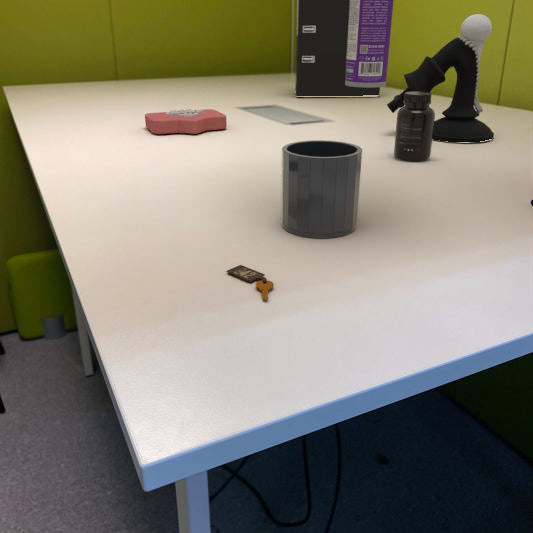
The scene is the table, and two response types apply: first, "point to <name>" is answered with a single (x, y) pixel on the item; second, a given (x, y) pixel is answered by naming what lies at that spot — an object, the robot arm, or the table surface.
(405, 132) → the supplement bottle
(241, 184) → the table surface
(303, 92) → the binder
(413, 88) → the sculpture
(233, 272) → the key tag
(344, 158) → the grey cylindrical cup
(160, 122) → the red sponge
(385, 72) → the container
